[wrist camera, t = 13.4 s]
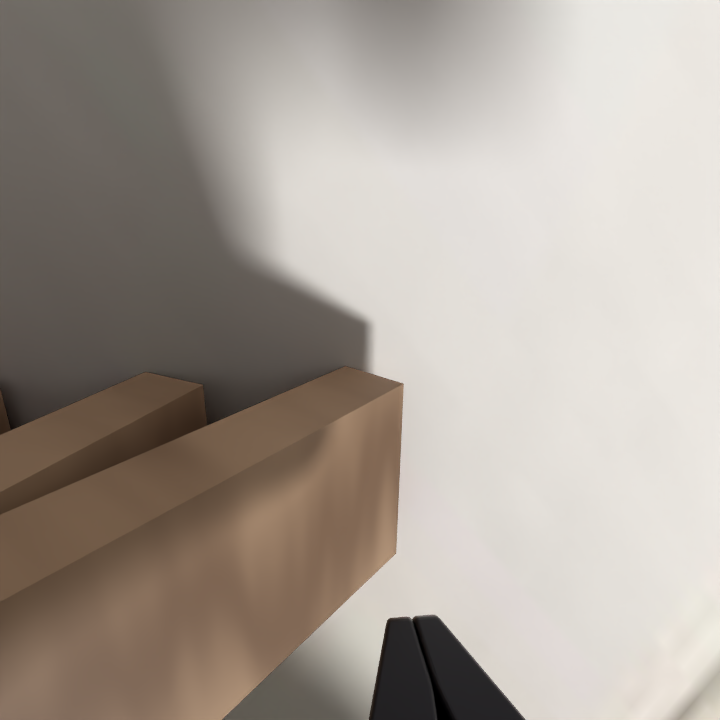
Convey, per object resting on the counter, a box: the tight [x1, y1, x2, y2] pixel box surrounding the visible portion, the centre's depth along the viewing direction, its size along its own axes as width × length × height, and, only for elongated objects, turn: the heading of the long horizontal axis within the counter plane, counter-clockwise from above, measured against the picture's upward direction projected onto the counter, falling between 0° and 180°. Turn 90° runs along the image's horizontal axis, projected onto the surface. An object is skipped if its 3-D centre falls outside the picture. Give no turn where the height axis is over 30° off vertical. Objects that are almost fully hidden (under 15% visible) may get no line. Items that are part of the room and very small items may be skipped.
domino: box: [0, 366, 404, 720], centre depth 10 cm, size 5×2×10 cm
